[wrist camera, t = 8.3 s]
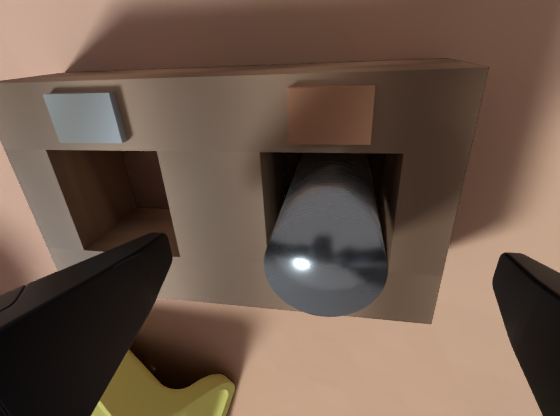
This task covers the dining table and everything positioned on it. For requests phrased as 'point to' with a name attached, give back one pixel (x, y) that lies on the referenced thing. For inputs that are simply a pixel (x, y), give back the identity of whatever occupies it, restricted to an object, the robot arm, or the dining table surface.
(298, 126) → the board
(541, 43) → the dining table surface
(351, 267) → the plug
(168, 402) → the plastic component
